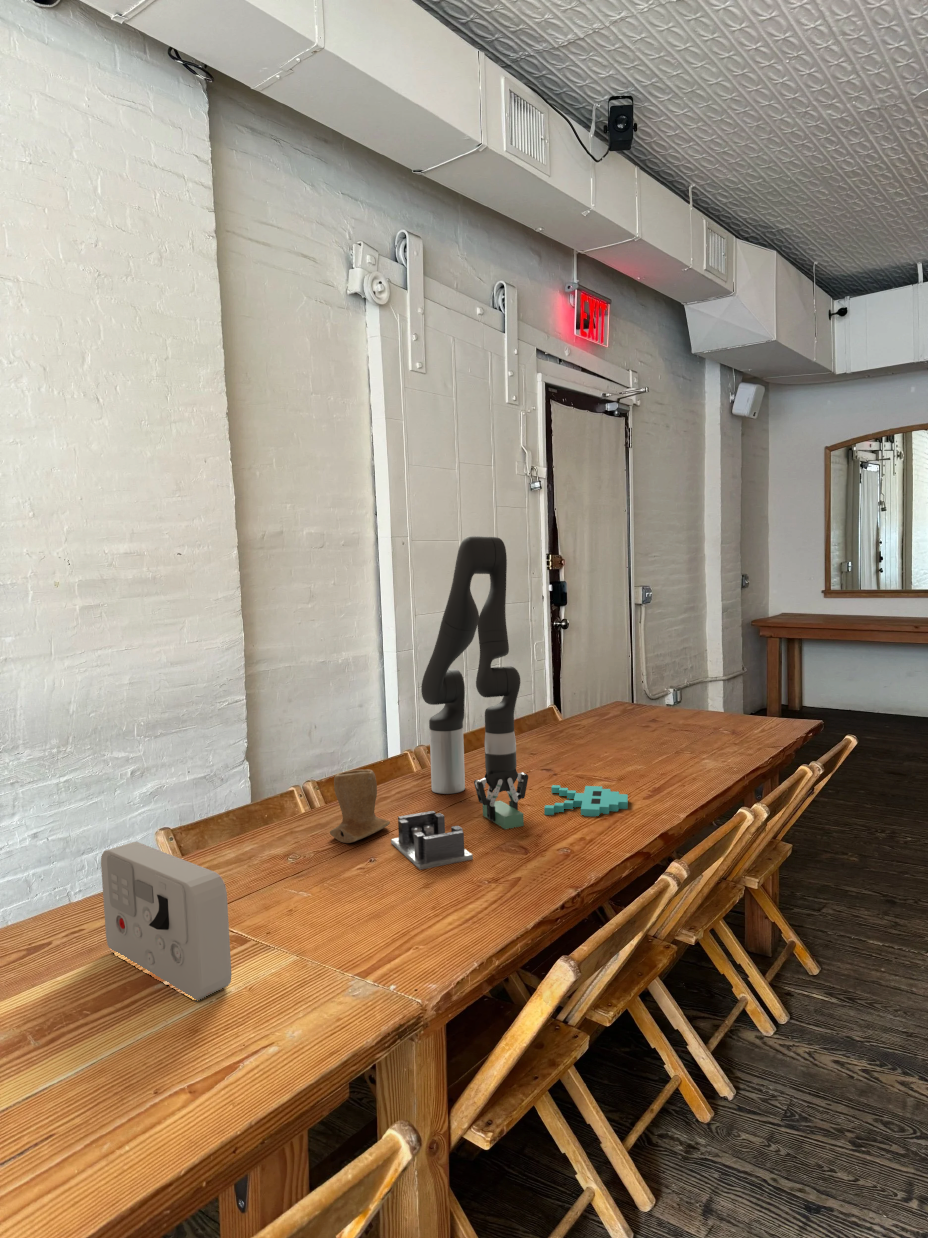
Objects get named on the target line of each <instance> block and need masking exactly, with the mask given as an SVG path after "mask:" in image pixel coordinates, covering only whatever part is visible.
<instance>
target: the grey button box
mask: <svg viewBox="0 0 928 1238" xmlns="http://www.w3.org/2000/svg"><path fill="white" fill-rule="evenodd" d="M100 856H101V858H100V870H101V883H102V884H101V886H102V897H103V912H104V924H105V925H104V928H105V939H106V943H107V947H108V949H109V948H111V949H112V950H114V951H116V952H118V953H120V954H121V955H124V956H125V957H127V958H128V959H130V960H131V961H133V962H135V963H137V964H138V965H140V966H142V967H143V968H145V969H147V970H148V971H150V972H152V973H153V974H155V975H156V976H158V977H160V978H161V979H163V980H165V981H167V982H169V983H170V984H172V985H173V986H175V987H176V988H178V989H180V990H182V991H183V992H185V993H186V994H188V995H190V996H192V997H193V998H194V999H196V1000H199V1001H201V1000H203V999H205V998H207V997H206V996H208V995H210V994H212V993H214V992H216V991H218V990H220V989H222V988H224V987H226V986H227V987H229V985H230V984H231V983H232V962H231V961H232V958H231V943H230V942H231V941H230V925H229V907H228V892H227V887H226V883H225V881H224V879H223V877H222V876H221V875H220V874H219V873H218V872H216V871H215V870H212V869H208V868H205V867H203V866H201V865H199V864H196V863H194V862H193V863H192V862H190V861H188V860H186V859H183V858H181V857H178V856H174V855H172V854H170V853H167V852H164V851H162V850H159V849H156V848H154V847H152V846H149V845H146V844H143V843H141V842H138V841H133V842H129V843H126V844H122V845H119V846H115V847H112V848H110V849H106V850H104V851H103V853H102V854H101V855H100ZM227 987H226V988H227ZM224 989H225V988H224ZM222 990H223V989H222ZM220 991H221V990H220ZM218 992H219V991H218ZM216 993H217V992H216ZM214 994H215V993H214ZM212 995H213V994H212ZM210 996H211V995H210ZM204 997H205V998H204ZM208 997H209V996H208ZM202 998H203V999H202ZM200 999H201V1000H200Z"/></svg>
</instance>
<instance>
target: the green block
mask: <svg viewBox="0 0 928 1238" xmlns="http://www.w3.org/2000/svg"><path fill="white" fill-rule="evenodd" d="M494 806H495V821H493V822H492V823H494V824H495V825H497V826H499V827H500V826H501V827H500V828H502V829H504V830H509V828H510V829H513V828H514V827H515V828H520V827H524V825H525V824H524V823H525V821H524V812H522V811H520V810H519V809H518V810H516V809H515V808H513V807H511V806H509V804H508V803H506V802H504V801H502V800H495V804H494ZM482 816H483V817H484V818H486V819H488V820H489V821H491V820H490V819H489V818H488V817H487V805H483V804H482Z"/></svg>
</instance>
